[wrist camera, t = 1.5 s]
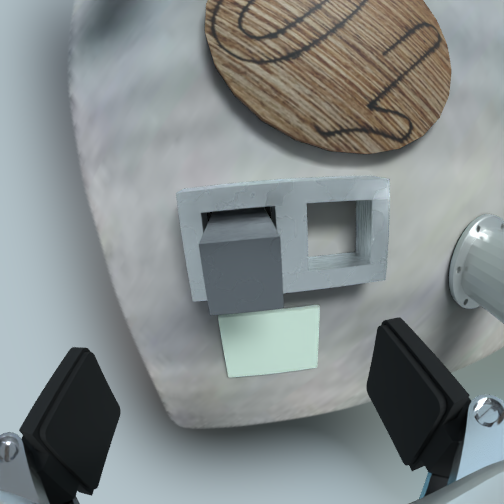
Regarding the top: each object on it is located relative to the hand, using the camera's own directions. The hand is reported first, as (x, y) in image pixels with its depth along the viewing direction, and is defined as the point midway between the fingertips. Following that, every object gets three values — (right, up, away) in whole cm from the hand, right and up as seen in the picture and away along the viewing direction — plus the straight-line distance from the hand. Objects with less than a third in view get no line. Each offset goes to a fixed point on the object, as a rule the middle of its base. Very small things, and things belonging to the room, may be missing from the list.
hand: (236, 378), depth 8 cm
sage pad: (+3, -6, +21) cm, 22 cm away
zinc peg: (0, +6, +17) cm, 18 cm away
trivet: (+9, +25, +12) cm, 29 cm away
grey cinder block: (+4, +6, +17) cm, 19 cm away
